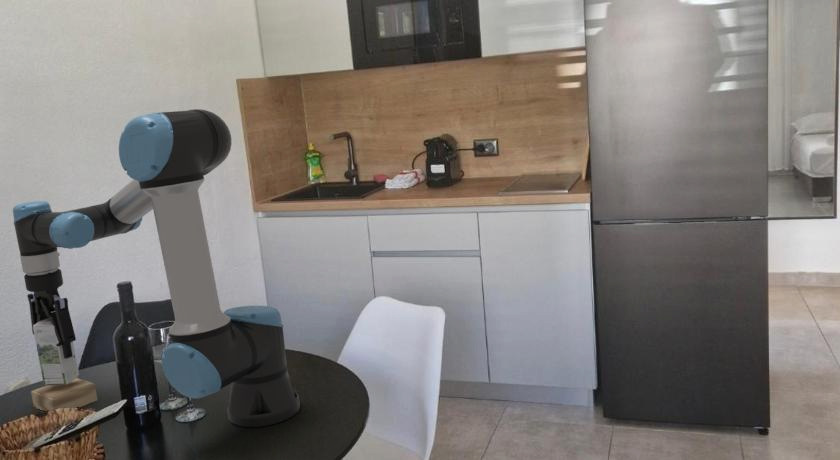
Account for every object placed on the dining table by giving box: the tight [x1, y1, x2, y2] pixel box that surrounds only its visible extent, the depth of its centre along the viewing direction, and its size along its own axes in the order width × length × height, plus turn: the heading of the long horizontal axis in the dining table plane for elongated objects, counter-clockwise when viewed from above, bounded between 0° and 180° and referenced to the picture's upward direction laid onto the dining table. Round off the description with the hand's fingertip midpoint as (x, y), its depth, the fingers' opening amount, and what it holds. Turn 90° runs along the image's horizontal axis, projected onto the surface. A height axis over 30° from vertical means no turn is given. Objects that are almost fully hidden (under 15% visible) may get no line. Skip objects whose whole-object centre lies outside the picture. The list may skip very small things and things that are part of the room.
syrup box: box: [33, 318, 80, 386], centre depth 175 cm, size 6×6×14 cm
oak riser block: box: [30, 377, 98, 411], centre depth 177 cm, size 10×10×4 cm
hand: (59, 367), depth 176 cm, fingers closed on syrup box, 8 cm apart
